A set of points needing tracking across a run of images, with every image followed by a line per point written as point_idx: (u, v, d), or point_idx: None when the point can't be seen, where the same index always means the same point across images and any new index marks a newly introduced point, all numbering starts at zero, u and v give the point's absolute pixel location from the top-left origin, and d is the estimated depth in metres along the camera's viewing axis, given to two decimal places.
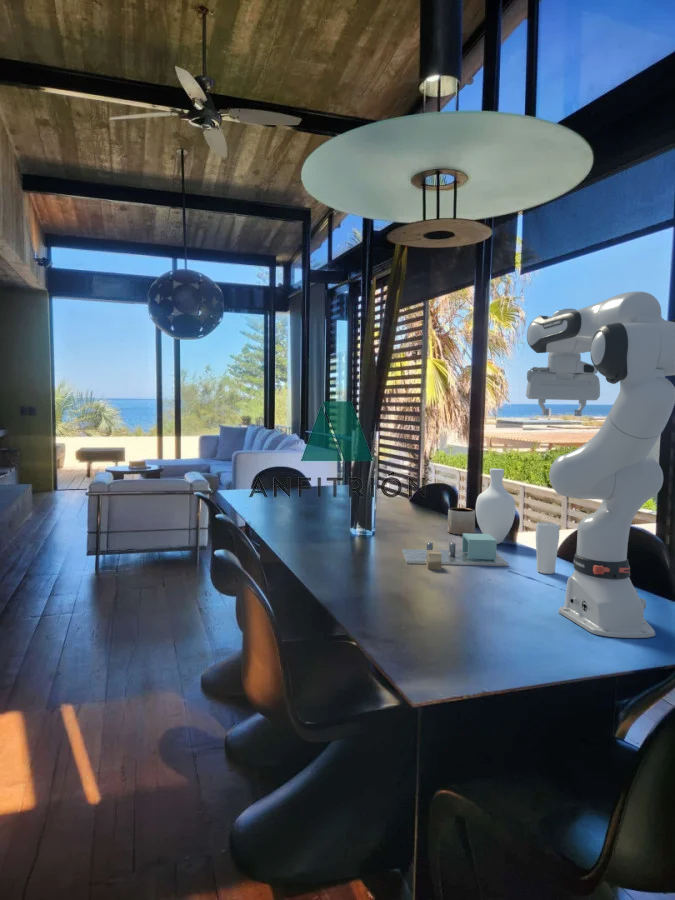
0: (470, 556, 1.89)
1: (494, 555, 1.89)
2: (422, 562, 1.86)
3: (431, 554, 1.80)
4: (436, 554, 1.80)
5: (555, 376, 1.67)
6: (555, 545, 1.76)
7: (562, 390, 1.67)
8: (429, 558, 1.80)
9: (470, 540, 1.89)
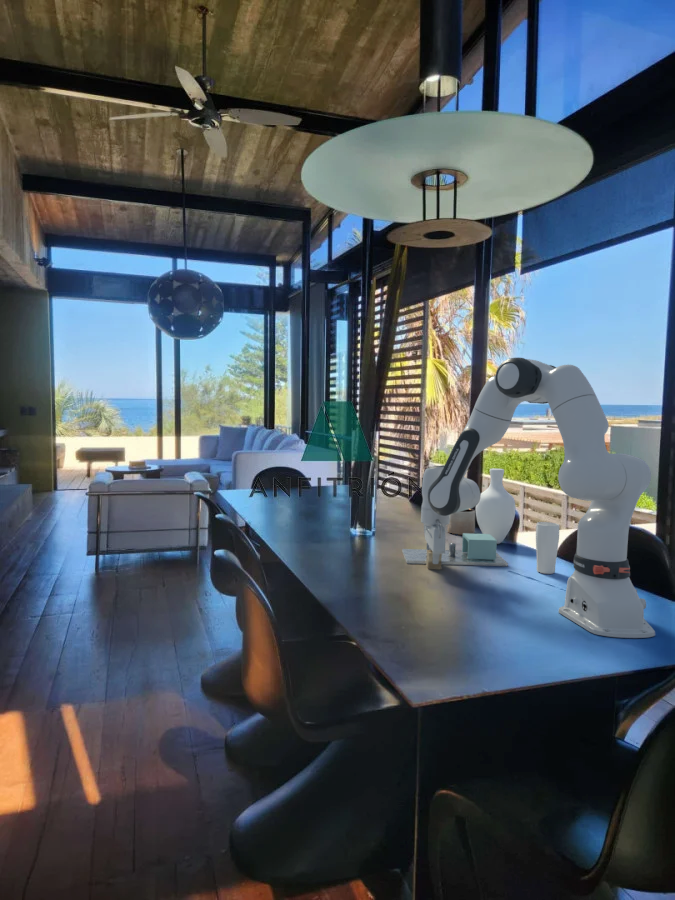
0: (470, 556, 1.89)
1: (494, 555, 1.89)
2: (422, 562, 1.86)
3: (431, 554, 1.80)
4: None
5: (442, 527, 1.79)
6: (555, 545, 1.76)
7: None
8: (429, 558, 1.80)
9: (470, 540, 1.89)
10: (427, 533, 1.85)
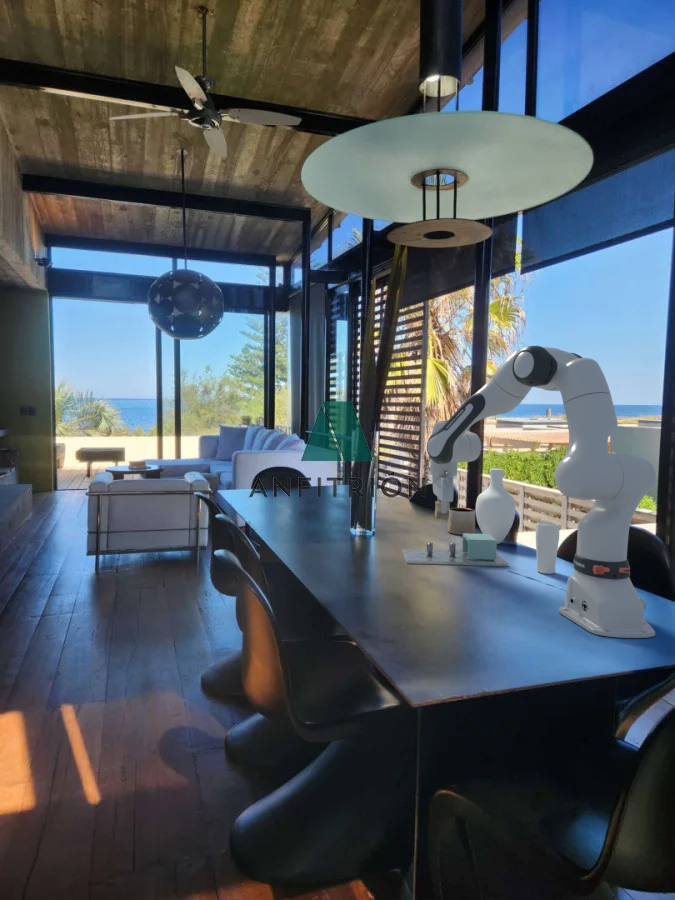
0: (470, 556, 1.89)
1: (494, 555, 1.89)
2: (422, 562, 1.86)
3: (439, 504, 1.91)
4: None
5: None
6: (555, 545, 1.76)
7: None
8: (438, 508, 1.91)
9: (470, 540, 1.89)
10: (436, 486, 1.96)
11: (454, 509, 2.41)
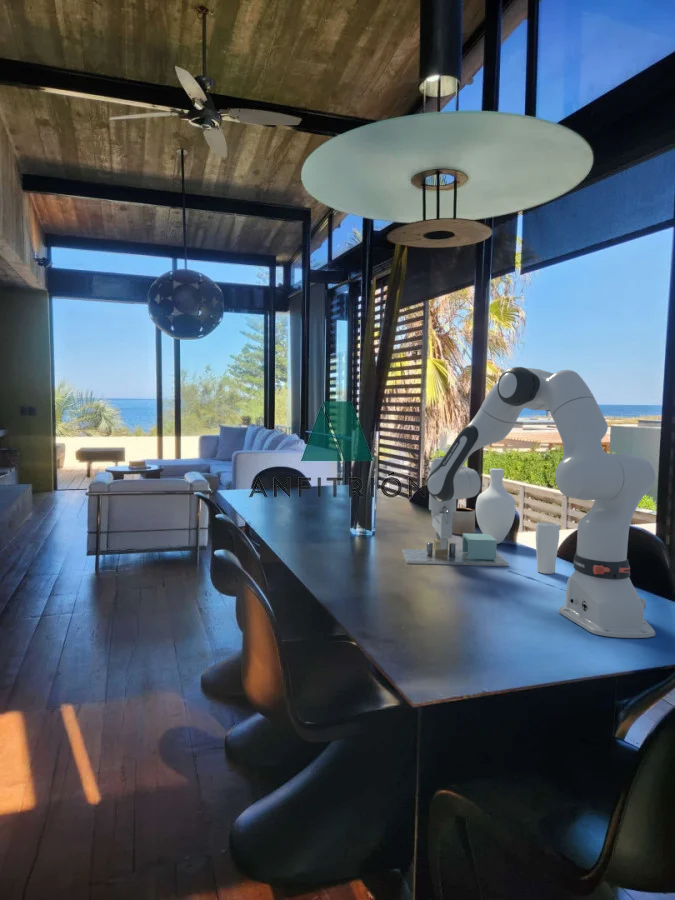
0: (470, 556, 1.89)
1: (494, 555, 1.89)
2: (422, 562, 1.86)
3: (438, 542, 1.92)
4: None
5: None
6: (555, 545, 1.76)
7: None
8: (436, 546, 1.92)
9: (470, 540, 1.89)
10: (434, 520, 1.97)
11: None
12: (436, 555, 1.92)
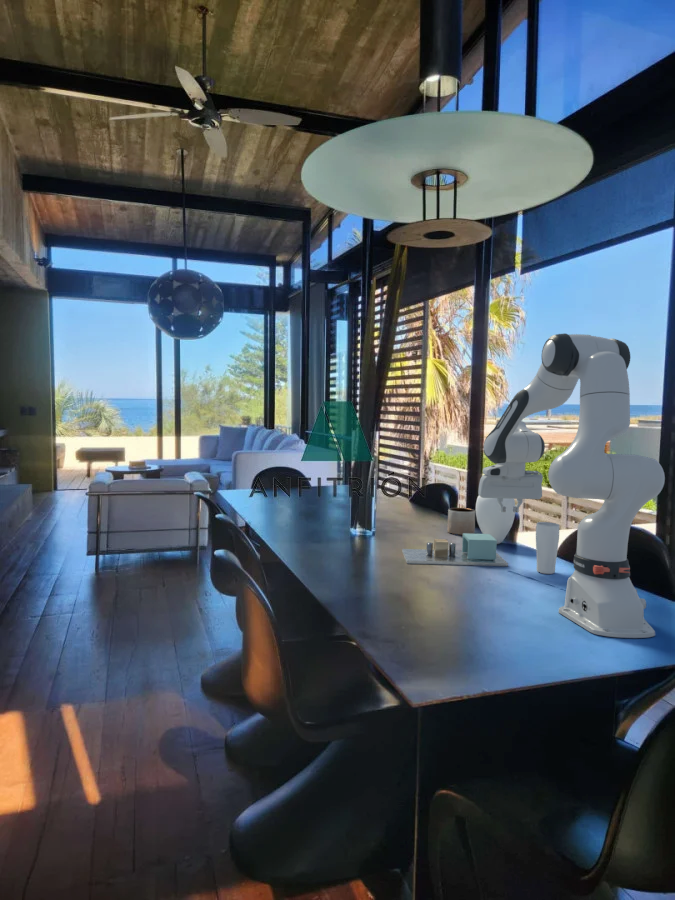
0: (470, 556, 1.89)
1: (494, 555, 1.89)
2: (422, 562, 1.86)
3: (438, 542, 1.92)
4: (443, 542, 1.92)
5: None
6: (555, 545, 1.76)
7: None
8: (436, 546, 1.92)
9: (470, 540, 1.89)
10: (500, 488, 1.91)
11: (454, 509, 2.41)
12: (436, 555, 1.92)
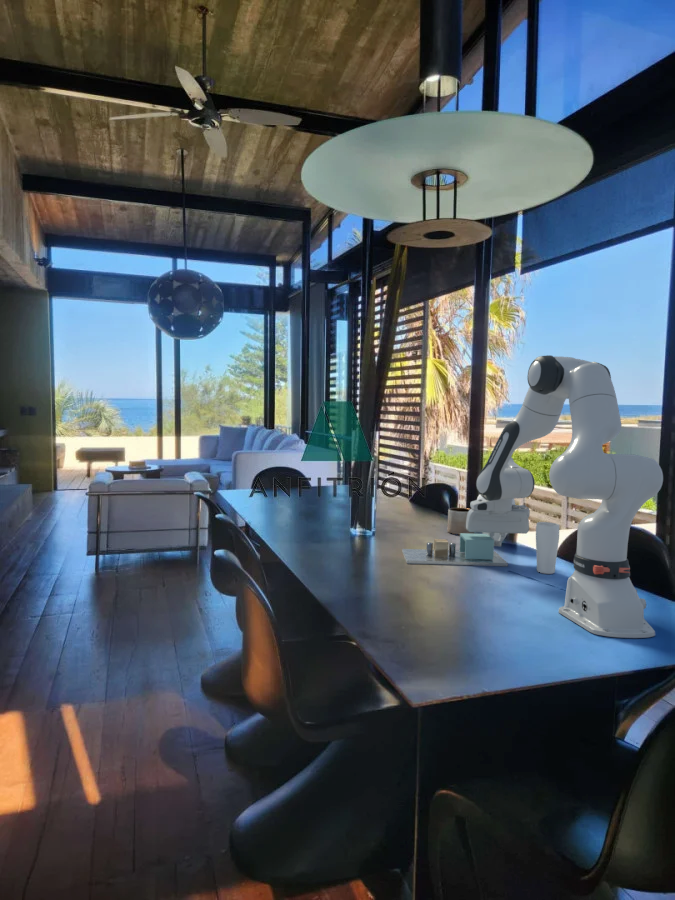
0: (467, 556, 1.89)
1: (491, 555, 1.89)
2: (422, 562, 1.86)
3: (438, 542, 1.92)
4: (443, 542, 1.92)
5: None
6: (555, 545, 1.76)
7: None
8: (436, 546, 1.92)
9: (467, 540, 1.89)
10: (487, 522, 1.92)
11: (454, 509, 2.41)
12: (436, 555, 1.92)
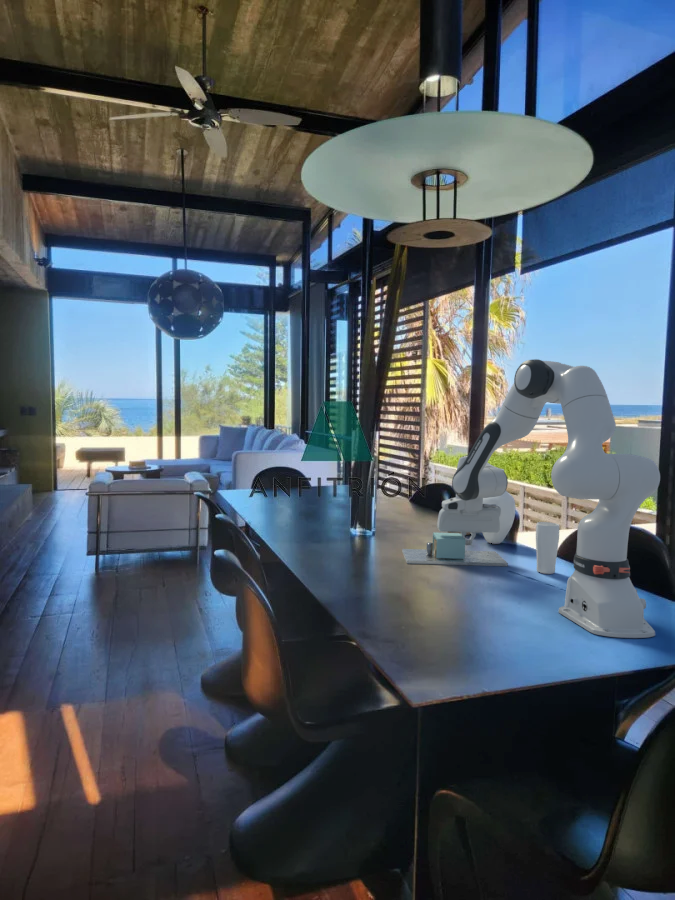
0: (439, 555, 1.89)
1: (463, 554, 1.89)
2: (422, 562, 1.86)
3: None
4: None
5: None
6: (555, 545, 1.76)
7: None
8: (436, 546, 1.92)
9: (439, 539, 1.89)
10: (458, 521, 1.92)
11: None
12: None
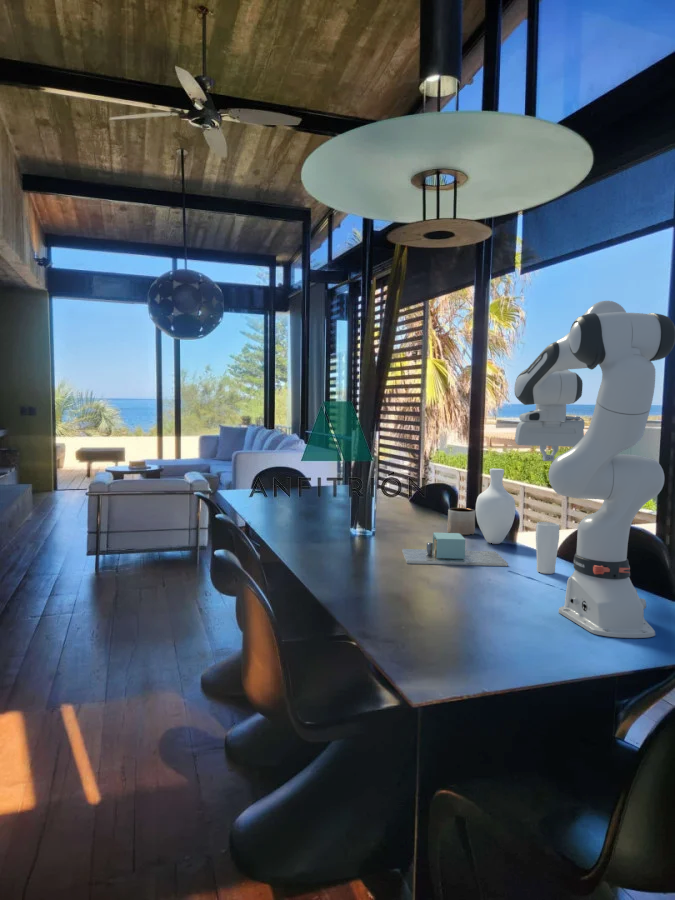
0: (439, 555, 1.89)
1: (463, 554, 1.89)
2: (422, 562, 1.86)
3: None
4: None
5: None
6: (555, 545, 1.76)
7: None
8: (436, 546, 1.92)
9: (439, 539, 1.89)
10: (539, 434, 1.77)
11: (454, 509, 2.41)
12: (436, 555, 1.92)
